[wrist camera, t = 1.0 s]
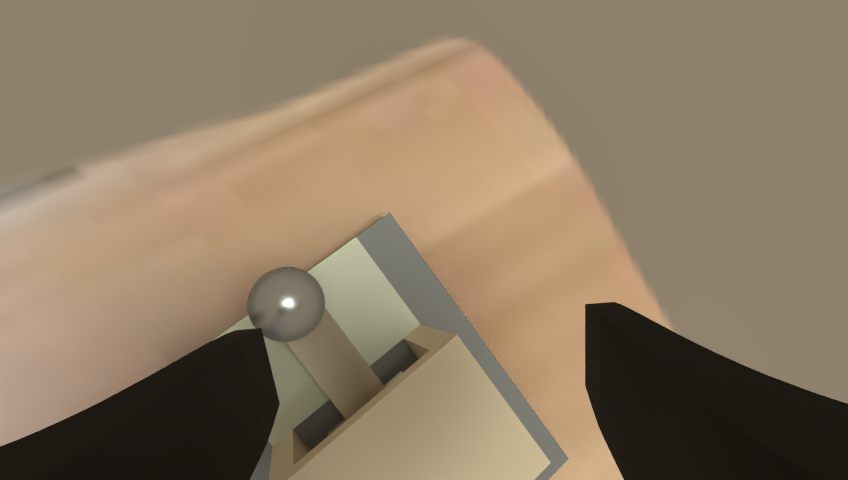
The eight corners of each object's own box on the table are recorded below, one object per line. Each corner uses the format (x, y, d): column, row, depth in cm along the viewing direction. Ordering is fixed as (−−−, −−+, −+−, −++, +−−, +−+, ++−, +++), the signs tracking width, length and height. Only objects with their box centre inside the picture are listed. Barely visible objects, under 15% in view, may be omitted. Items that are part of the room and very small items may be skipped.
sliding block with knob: (383, 505, 20) (412, 573, 15) (229, 307, 19) (208, 313, 15) (453, 440, 21) (500, 484, 17) (310, 249, 20) (316, 238, 16)
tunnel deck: (370, 634, 21) (404, 782, 15) (162, 376, 20) (103, 417, 14) (552, 448, 25) (643, 505, 18) (383, 217, 23) (418, 190, 17)
